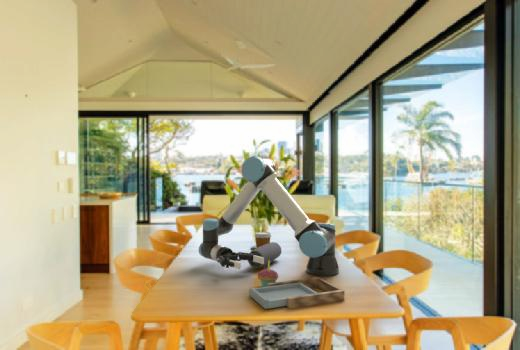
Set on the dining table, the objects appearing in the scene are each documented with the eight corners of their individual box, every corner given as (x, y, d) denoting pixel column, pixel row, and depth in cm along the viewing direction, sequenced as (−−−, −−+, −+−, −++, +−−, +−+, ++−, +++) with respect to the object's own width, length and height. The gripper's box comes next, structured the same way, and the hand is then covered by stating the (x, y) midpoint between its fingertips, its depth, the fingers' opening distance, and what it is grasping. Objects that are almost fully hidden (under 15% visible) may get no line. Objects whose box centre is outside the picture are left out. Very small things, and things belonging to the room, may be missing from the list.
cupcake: (280, 288, 157) (280, 259, 157) (260, 290, 155) (260, 260, 154) (274, 282, 165) (274, 254, 165) (254, 284, 163) (255, 256, 163)
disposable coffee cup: (260, 251, 225) (260, 230, 225) (274, 253, 220) (274, 232, 220) (251, 254, 218) (251, 233, 217) (265, 256, 212) (265, 235, 212)
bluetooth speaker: (266, 259, 208) (266, 240, 207) (282, 260, 204) (282, 241, 203) (246, 269, 187) (246, 248, 187) (263, 271, 183) (263, 250, 183)
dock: (318, 285, 162) (318, 277, 162) (345, 300, 144) (345, 290, 144) (267, 292, 153) (267, 283, 153) (289, 308, 135) (289, 298, 135)
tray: (300, 288, 156) (300, 281, 156) (319, 300, 142) (319, 292, 142) (249, 295, 148) (249, 287, 148) (265, 308, 134) (265, 300, 134)
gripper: (242, 258, 191) (272, 267, 176) (199, 266, 174) (228, 277, 159) (242, 243, 191) (272, 250, 175) (200, 250, 174) (229, 259, 159)
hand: (252, 263), depth 167 cm, fingers open, 13 cm apart
